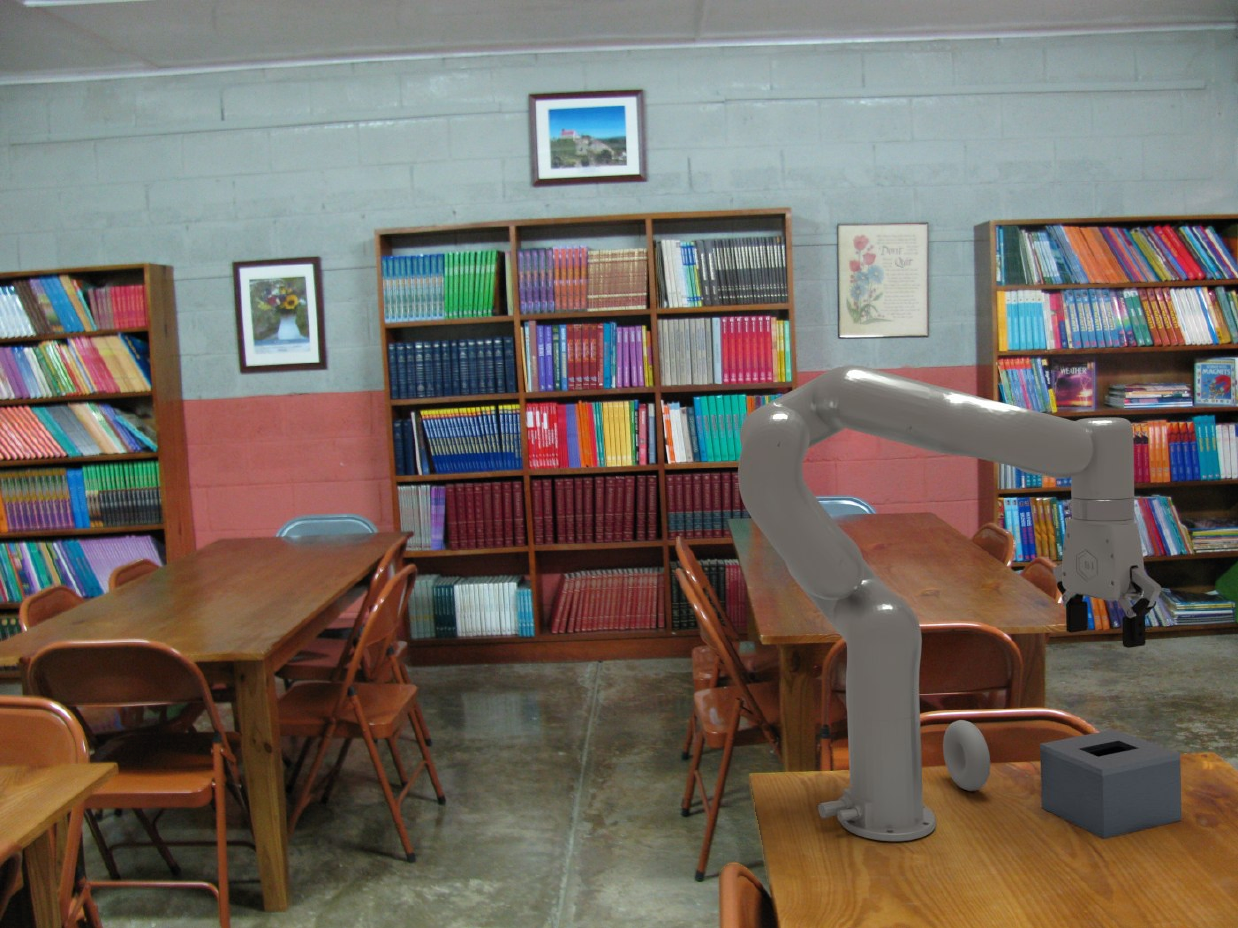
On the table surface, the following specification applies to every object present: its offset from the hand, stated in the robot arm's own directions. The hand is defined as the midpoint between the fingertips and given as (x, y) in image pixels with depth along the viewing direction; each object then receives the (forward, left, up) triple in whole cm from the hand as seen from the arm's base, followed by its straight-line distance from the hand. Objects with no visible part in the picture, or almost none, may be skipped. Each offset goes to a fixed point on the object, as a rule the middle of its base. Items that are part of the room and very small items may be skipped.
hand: (1104, 638), depth 135 cm
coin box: (0, 0, -24) cm, 24 cm away
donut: (-11, +15, -24) cm, 31 cm away
